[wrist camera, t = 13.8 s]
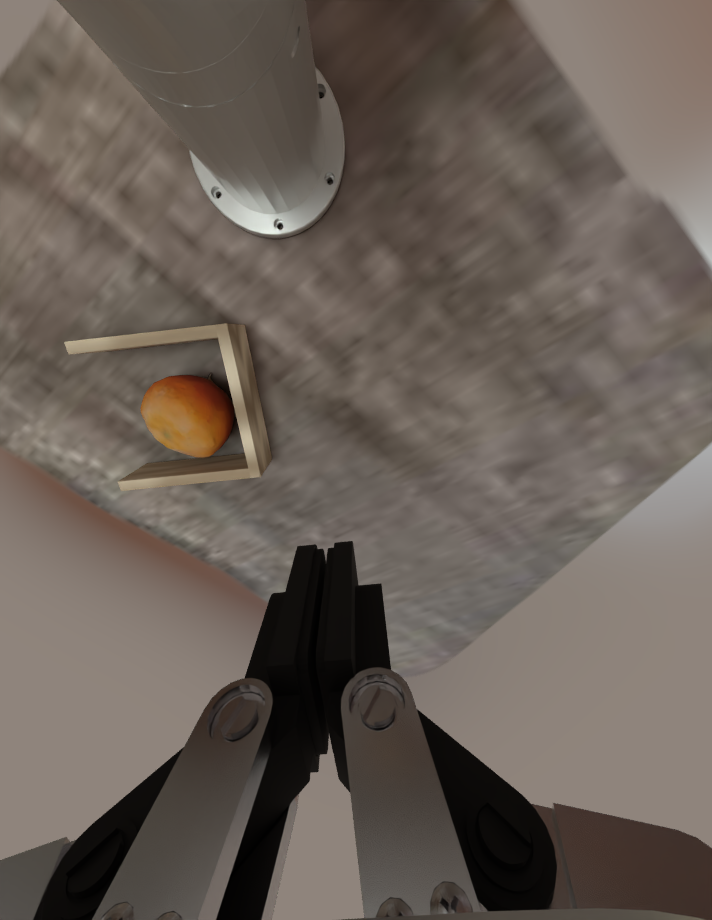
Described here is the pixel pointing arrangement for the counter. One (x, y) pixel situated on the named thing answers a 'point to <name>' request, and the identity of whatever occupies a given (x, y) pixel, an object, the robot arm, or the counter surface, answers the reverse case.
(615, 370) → the counter surface
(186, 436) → the fruit
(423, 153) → the counter surface
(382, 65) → the counter surface
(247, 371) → the box
